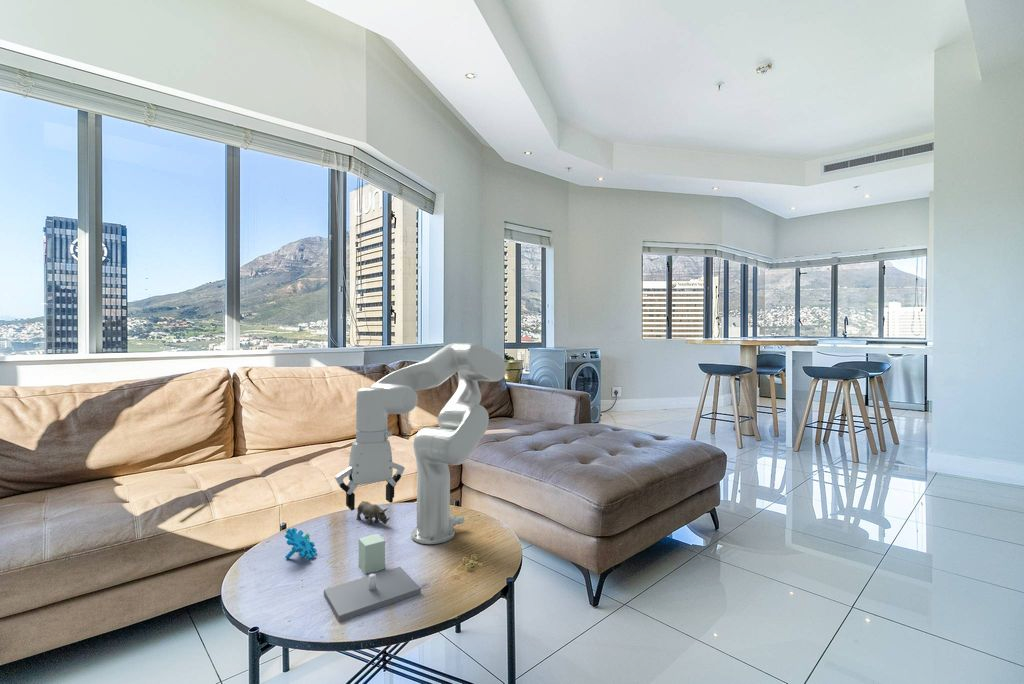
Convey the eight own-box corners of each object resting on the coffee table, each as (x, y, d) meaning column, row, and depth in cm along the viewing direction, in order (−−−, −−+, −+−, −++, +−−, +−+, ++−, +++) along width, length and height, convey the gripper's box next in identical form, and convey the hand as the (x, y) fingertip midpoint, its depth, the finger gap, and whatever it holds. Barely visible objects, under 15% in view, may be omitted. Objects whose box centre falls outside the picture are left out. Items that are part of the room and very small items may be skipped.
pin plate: (399, 571, 114) (400, 554, 114) (420, 593, 105) (420, 574, 105) (323, 594, 104) (323, 576, 104) (338, 621, 94) (338, 601, 94)
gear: (310, 560, 116) (283, 532, 117) (292, 578, 115) (264, 550, 116) (324, 546, 127) (299, 520, 127) (308, 563, 126) (282, 537, 127)
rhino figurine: (383, 530, 139) (383, 510, 139) (353, 520, 146) (353, 501, 146) (393, 525, 142) (394, 506, 142) (364, 516, 150) (364, 497, 150)
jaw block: (378, 560, 120) (378, 533, 120) (385, 568, 116) (385, 540, 116) (358, 566, 117) (358, 538, 117) (365, 574, 113) (365, 545, 113)
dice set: (466, 574, 114) (466, 566, 114) (458, 565, 119) (458, 558, 119) (484, 569, 117) (484, 561, 117) (475, 560, 122) (475, 553, 121)
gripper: (398, 430, 124) (397, 494, 124) (331, 437, 114) (330, 507, 114) (410, 435, 118) (409, 502, 118) (340, 443, 108) (339, 516, 108)
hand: (370, 504), depth 116 cm, fingers open, 9 cm apart
